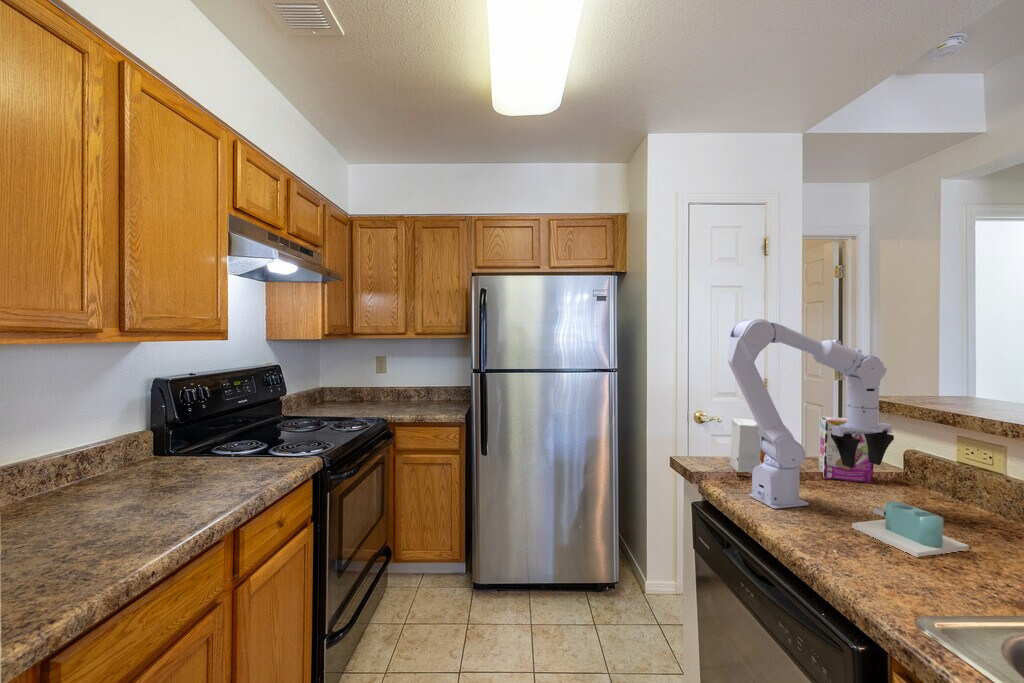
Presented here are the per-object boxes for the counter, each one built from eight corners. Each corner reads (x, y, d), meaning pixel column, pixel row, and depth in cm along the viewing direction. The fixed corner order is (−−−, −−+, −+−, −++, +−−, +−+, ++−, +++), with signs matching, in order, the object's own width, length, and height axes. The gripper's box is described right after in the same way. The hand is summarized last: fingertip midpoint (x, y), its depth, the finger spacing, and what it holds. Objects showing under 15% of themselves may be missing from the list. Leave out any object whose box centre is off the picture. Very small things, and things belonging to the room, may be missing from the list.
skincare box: (729, 467, 128) (730, 417, 127) (751, 469, 127) (752, 418, 126) (737, 477, 120) (738, 423, 119) (762, 478, 118) (762, 424, 118)
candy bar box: (824, 479, 117) (825, 419, 117) (818, 473, 122) (819, 416, 122) (874, 484, 114) (875, 422, 113) (866, 478, 118) (867, 418, 118)
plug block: (931, 548, 79) (932, 521, 79) (870, 522, 89) (870, 498, 89) (948, 546, 80) (949, 519, 79) (885, 520, 90) (885, 496, 90)
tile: (917, 558, 78) (917, 552, 77) (852, 527, 89) (852, 523, 89) (968, 550, 80) (968, 545, 80) (898, 522, 92) (898, 517, 92)
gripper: (853, 411, 95) (852, 472, 95) (906, 408, 97) (905, 468, 98) (824, 405, 101) (823, 462, 102) (874, 403, 104) (873, 458, 105)
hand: (861, 464), depth 100 cm, fingers open, 7 cm apart
